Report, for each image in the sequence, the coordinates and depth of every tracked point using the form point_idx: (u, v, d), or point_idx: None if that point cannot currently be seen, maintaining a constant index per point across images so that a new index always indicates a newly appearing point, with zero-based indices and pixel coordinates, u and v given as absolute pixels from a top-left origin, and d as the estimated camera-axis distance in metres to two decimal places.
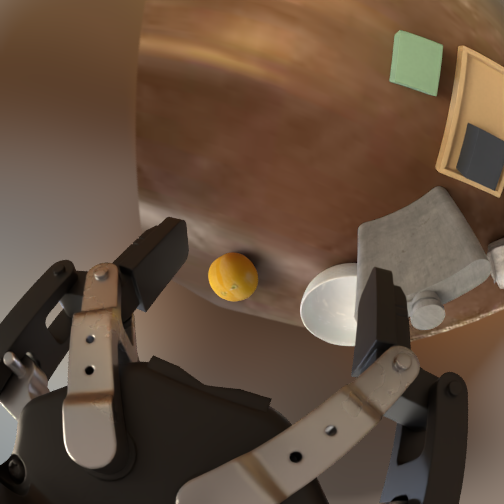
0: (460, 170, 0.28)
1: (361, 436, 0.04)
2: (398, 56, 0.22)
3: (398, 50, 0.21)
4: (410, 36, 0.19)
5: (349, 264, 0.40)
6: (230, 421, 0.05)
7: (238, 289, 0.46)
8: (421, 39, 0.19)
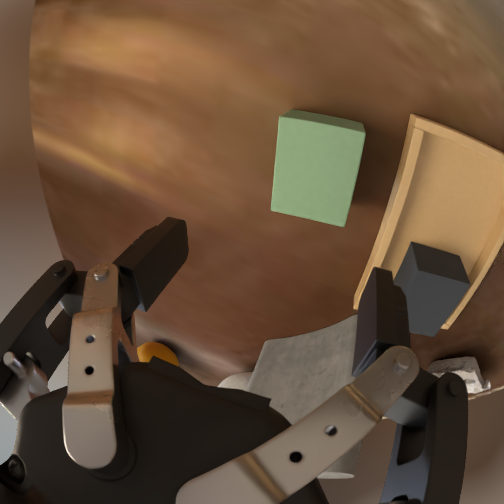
0: None
1: (361, 436, 0.04)
2: (276, 168, 0.18)
3: (277, 156, 0.18)
4: (299, 126, 0.16)
5: None
6: (230, 421, 0.05)
7: None
8: (320, 128, 0.16)
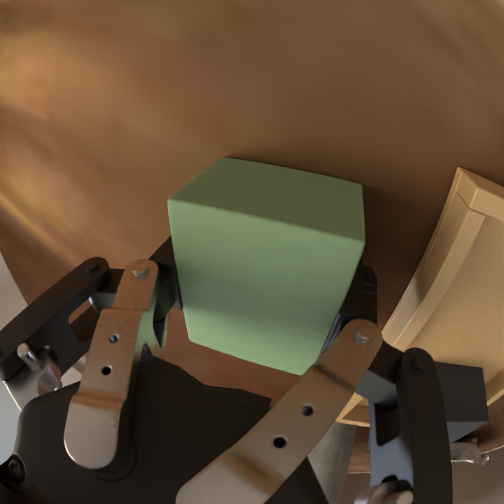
0: None
1: (339, 411, 0.05)
2: (182, 289, 0.10)
3: None
4: (207, 222, 0.08)
5: None
6: (230, 421, 0.05)
7: None
8: (255, 230, 0.07)
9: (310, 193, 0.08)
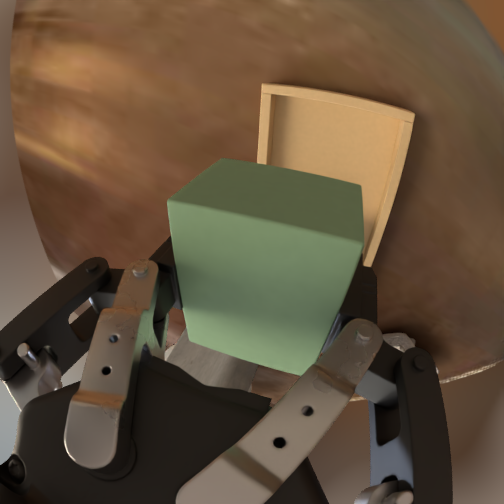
0: None
1: (339, 411, 0.05)
2: (182, 290, 0.10)
3: None
4: (207, 223, 0.08)
5: None
6: (230, 421, 0.05)
7: None
8: (254, 231, 0.07)
9: (309, 194, 0.08)
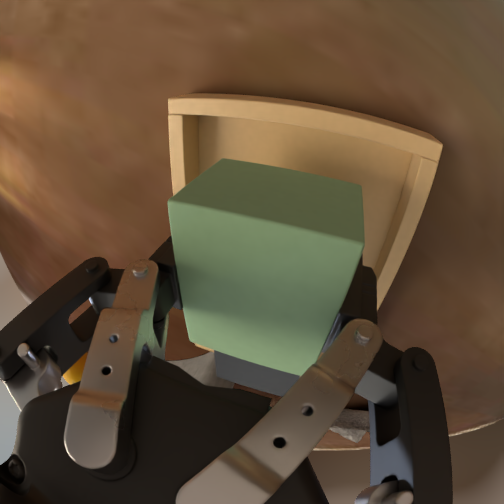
0: None
1: (339, 411, 0.05)
2: (182, 290, 0.10)
3: None
4: (207, 223, 0.08)
5: None
6: (230, 421, 0.05)
7: None
8: (254, 231, 0.07)
9: (310, 194, 0.08)
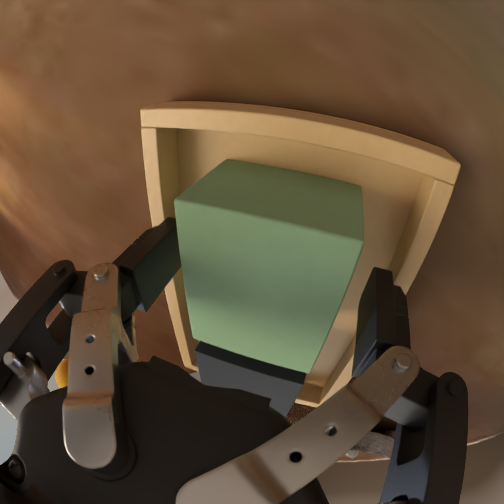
0: None
1: (361, 436, 0.04)
2: (187, 287, 0.10)
3: None
4: (213, 221, 0.08)
5: None
6: (230, 421, 0.05)
7: None
8: (259, 229, 0.08)
9: (311, 194, 0.09)
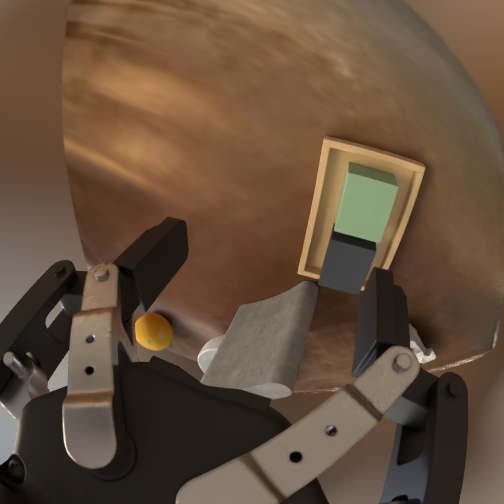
0: (320, 273, 0.36)
1: (361, 436, 0.04)
2: (341, 204, 0.28)
3: (342, 197, 0.27)
4: (359, 179, 0.26)
5: None
6: (230, 421, 0.05)
7: (152, 343, 0.54)
8: (372, 182, 0.25)
9: (381, 175, 0.26)
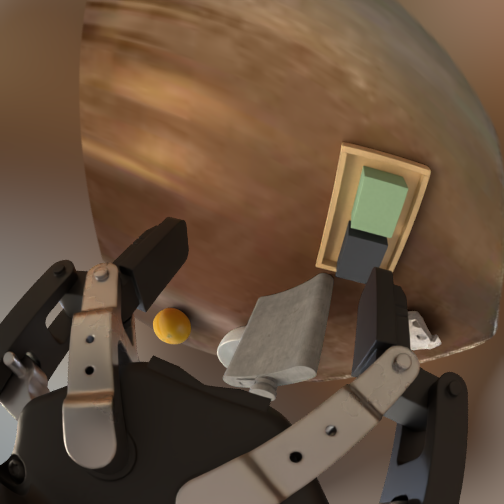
0: None
1: (361, 436, 0.04)
2: (358, 204, 0.31)
3: (359, 197, 0.30)
4: (374, 182, 0.28)
5: None
6: (230, 421, 0.05)
7: (172, 337, 0.57)
8: (385, 185, 0.28)
9: (393, 178, 0.29)
